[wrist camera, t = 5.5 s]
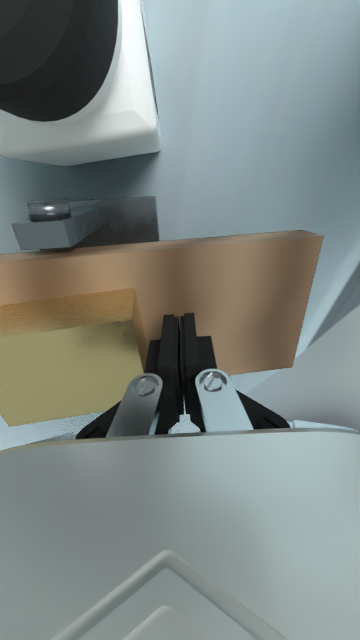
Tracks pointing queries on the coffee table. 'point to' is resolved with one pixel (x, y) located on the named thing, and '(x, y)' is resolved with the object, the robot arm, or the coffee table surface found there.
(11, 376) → the slider
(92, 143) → the container
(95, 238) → the stand
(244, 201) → the coffee table surface
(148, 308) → the beam
